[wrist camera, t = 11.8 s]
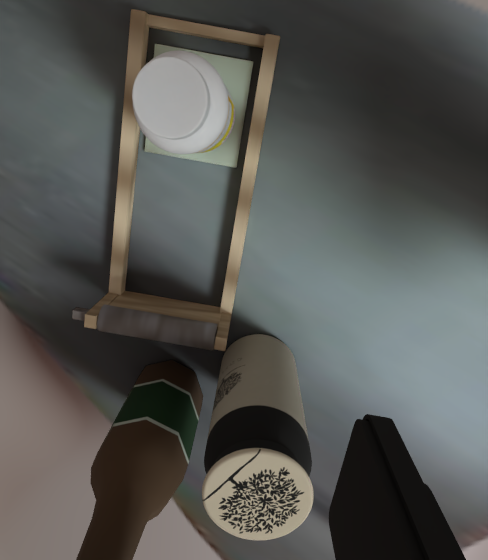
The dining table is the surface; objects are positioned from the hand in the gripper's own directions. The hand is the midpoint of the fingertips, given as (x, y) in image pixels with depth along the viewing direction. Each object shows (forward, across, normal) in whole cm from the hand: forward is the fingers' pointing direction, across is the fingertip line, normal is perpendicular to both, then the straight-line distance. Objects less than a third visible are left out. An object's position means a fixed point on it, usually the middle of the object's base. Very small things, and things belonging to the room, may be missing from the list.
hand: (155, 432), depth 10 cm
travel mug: (+32, -5, +15) cm, 36 cm away
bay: (+32, +5, -3) cm, 33 cm away
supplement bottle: (+32, +5, -9) cm, 34 cm away
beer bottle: (+32, +4, +20) cm, 38 cm away
